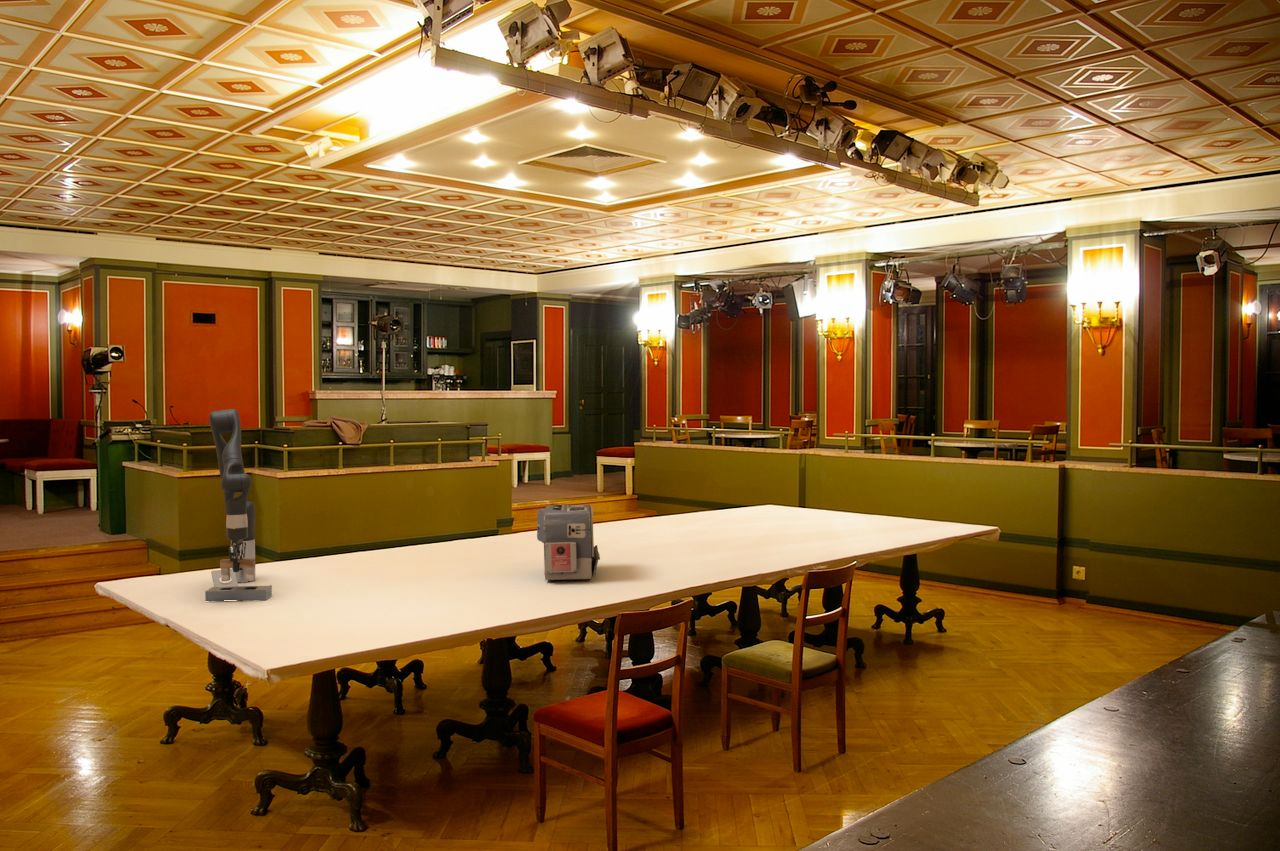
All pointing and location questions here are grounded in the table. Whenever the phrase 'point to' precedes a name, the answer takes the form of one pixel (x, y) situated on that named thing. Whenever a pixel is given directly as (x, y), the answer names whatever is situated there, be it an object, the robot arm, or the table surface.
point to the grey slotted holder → (238, 593)
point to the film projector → (567, 542)
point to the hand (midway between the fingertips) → (237, 570)
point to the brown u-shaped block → (243, 563)
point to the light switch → (218, 583)
